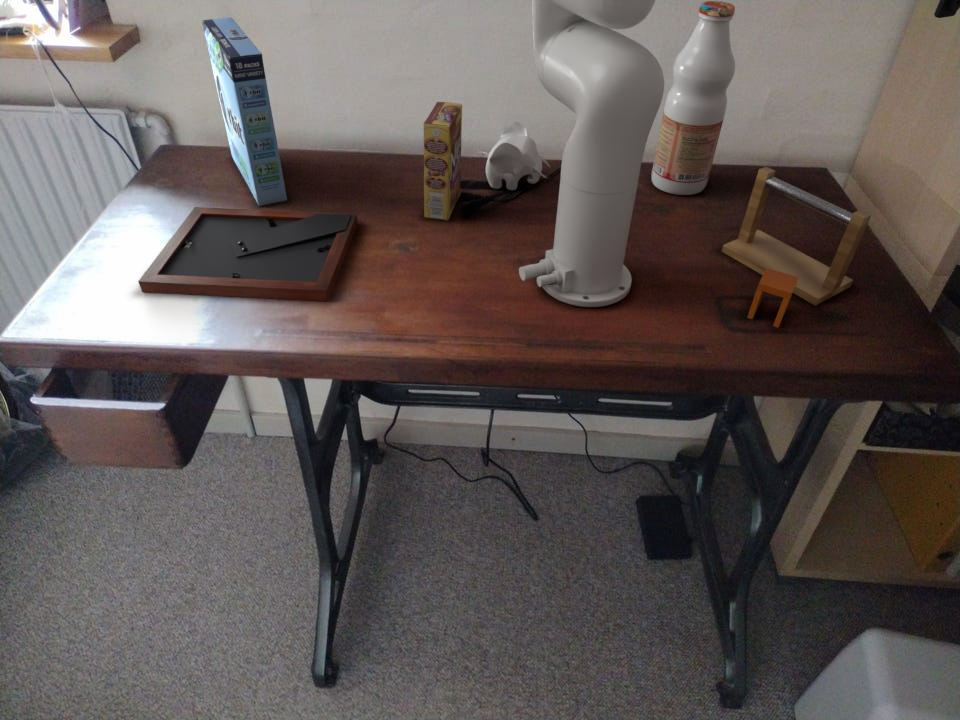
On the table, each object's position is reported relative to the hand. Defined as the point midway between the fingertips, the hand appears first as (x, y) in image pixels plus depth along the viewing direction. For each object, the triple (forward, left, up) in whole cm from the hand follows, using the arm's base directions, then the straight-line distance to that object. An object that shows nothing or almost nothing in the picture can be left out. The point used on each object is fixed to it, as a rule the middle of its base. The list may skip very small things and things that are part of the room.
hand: (911, 6), depth 88 cm
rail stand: (-17, -8, -31) cm, 36 cm away
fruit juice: (-15, +19, -31) cm, 39 cm away
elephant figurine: (-41, +30, -31) cm, 60 cm away
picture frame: (-85, +24, -31) cm, 93 cm away
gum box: (-80, +48, -31) cm, 98 cm away
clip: (-27, -16, -31) cm, 44 cm away
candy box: (-55, +27, -31) cm, 69 cm away
